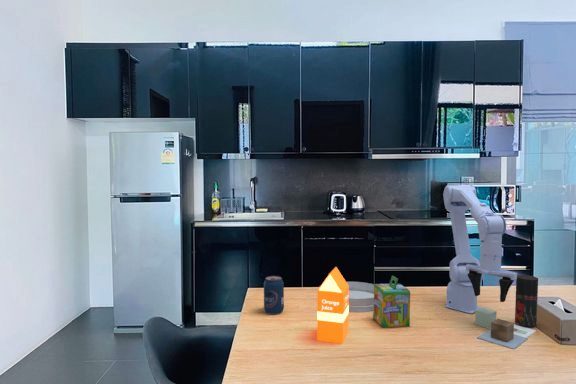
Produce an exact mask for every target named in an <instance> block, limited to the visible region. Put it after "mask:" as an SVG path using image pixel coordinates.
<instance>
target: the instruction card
mask: <svg viewBox="0 0 576 384" xmlns="http://www.w3.org/2000/svg"><path fill="white" fill-rule="evenodd" d="M536 332H537V330H536V329H533V328H527V327H522V326H519V325H517V324H514V335H518V336H522V337H525V338H528V337H530V336H532V335H533V334H534V333H536Z"/></svg>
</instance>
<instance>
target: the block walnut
mask: <svg viewBox="0 0 576 384" xmlns="http://www.w3.org/2000/svg"><path fill="white" fill-rule="evenodd" d="M514 325H515V322H512V321H507V320H504V319H500V318H496V320H494V321H492V322H491V328H490V329H491V338H494V339H497V340H501V341H504V342H509V341H510V340H512V339H513V338H514Z"/></svg>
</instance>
